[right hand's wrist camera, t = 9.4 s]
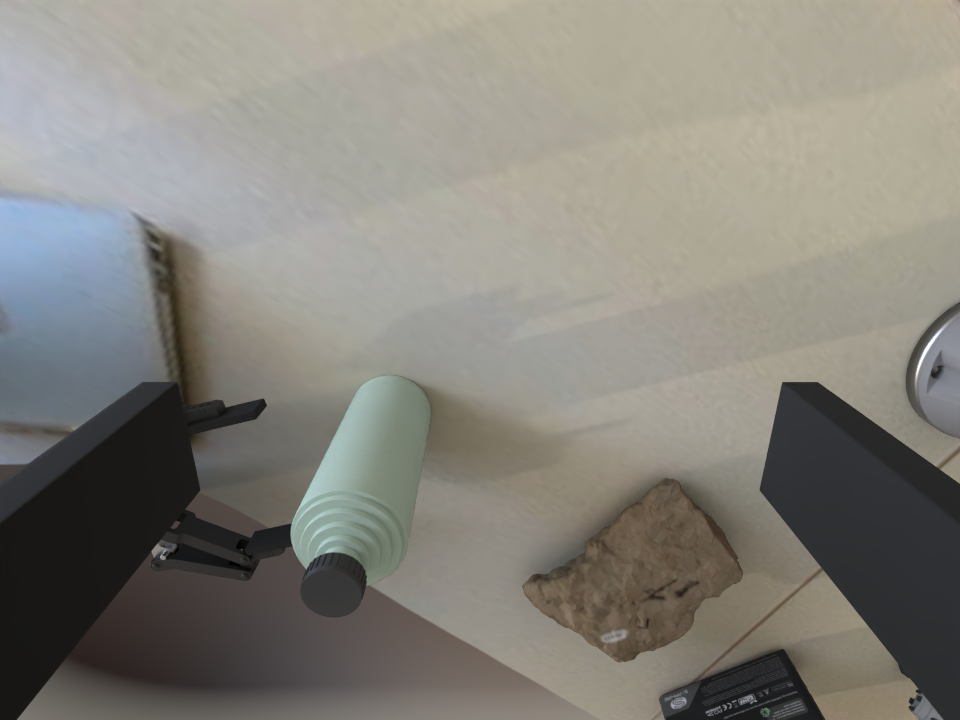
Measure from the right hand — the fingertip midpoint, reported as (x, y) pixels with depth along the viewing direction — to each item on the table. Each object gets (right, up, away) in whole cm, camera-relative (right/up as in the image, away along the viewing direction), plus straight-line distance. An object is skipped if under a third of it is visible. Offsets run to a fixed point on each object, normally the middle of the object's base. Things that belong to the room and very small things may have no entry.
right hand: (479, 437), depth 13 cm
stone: (+17, -21, +52) cm, 58 cm away
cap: (-9, -12, +22) cm, 27 cm away
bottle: (-9, -4, +45) cm, 46 cm away
